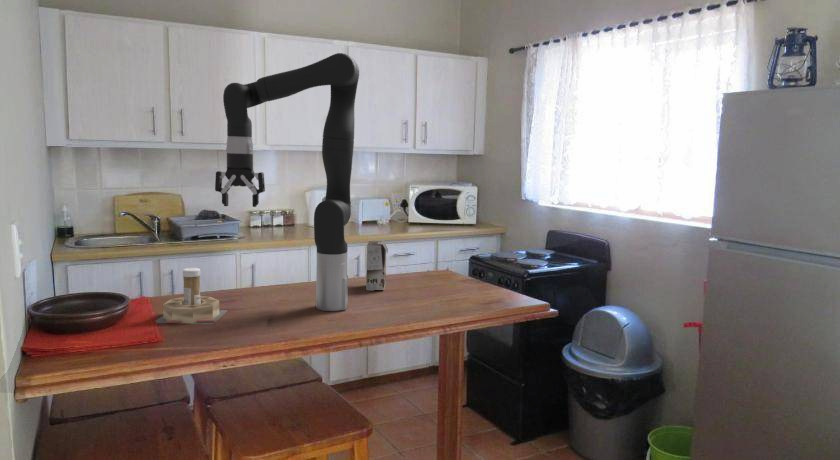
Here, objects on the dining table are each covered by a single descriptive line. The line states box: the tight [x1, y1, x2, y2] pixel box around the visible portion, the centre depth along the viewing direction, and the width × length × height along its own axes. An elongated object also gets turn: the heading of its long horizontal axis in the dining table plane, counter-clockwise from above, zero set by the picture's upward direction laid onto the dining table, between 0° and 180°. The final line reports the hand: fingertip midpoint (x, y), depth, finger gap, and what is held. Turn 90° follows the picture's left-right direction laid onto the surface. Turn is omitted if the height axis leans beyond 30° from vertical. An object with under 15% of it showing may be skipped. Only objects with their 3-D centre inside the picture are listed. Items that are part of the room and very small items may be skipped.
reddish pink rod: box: [165, 319, 216, 324], centre depth 161 cm, size 12×1×1 cm, turn 101°
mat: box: [155, 309, 229, 325], centre depth 168 cm, size 16×14×1 cm
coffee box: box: [365, 240, 387, 291], centre depth 210 cm, size 9×6×16 cm
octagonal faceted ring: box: [162, 295, 220, 323], centre depth 167 cm, size 14×14×4 cm
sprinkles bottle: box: [182, 267, 201, 305], centre depth 167 cm, size 5×5×14 cm
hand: (240, 206), depth 181 cm, fingers open, 8 cm apart
